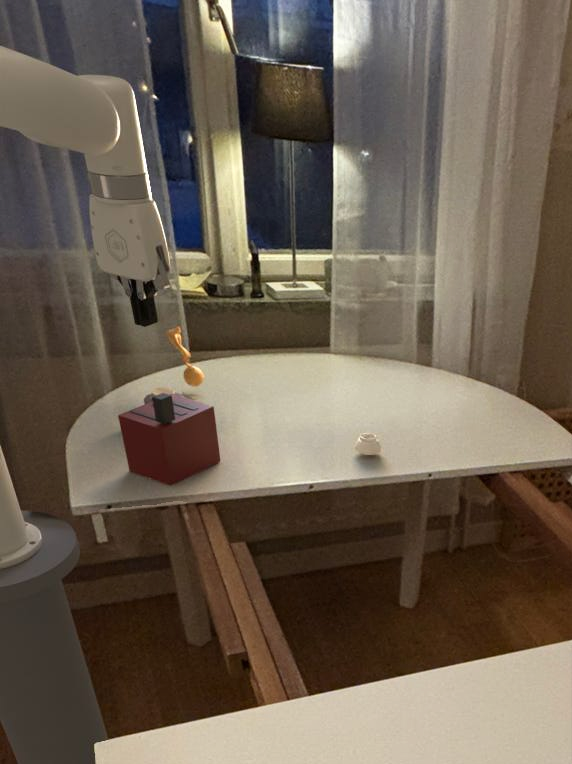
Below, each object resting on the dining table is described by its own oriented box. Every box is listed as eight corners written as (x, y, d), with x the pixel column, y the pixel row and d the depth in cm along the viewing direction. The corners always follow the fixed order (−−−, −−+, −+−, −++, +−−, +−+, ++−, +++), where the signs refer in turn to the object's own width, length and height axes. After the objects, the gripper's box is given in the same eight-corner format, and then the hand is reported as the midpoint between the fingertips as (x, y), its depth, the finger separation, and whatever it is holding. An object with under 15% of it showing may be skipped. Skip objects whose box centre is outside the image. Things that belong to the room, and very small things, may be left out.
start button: (164, 406, 142) (163, 397, 141) (148, 401, 143) (146, 391, 142) (180, 399, 145) (178, 390, 144) (163, 394, 146) (162, 385, 145)
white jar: (356, 444, 145) (352, 455, 141) (356, 429, 144) (352, 439, 139) (382, 447, 145) (379, 457, 141) (383, 432, 144) (379, 442, 140)
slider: (164, 424, 121) (160, 399, 118) (156, 421, 121) (151, 396, 119) (175, 419, 122) (171, 395, 120) (166, 416, 123) (163, 392, 120)
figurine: (208, 392, 158) (201, 331, 151) (178, 394, 155) (169, 332, 148) (200, 378, 163) (193, 320, 156) (170, 380, 161) (162, 321, 154)
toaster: (171, 486, 126) (161, 428, 120) (129, 472, 128) (117, 414, 122) (220, 461, 135) (213, 405, 128) (180, 447, 137) (171, 392, 131)
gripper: (57, 181, 105) (90, 319, 116) (144, 199, 101) (168, 340, 112) (99, 175, 110) (126, 307, 122) (183, 191, 106) (202, 327, 118)
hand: (146, 323), depth 117 cm, fingers closed
